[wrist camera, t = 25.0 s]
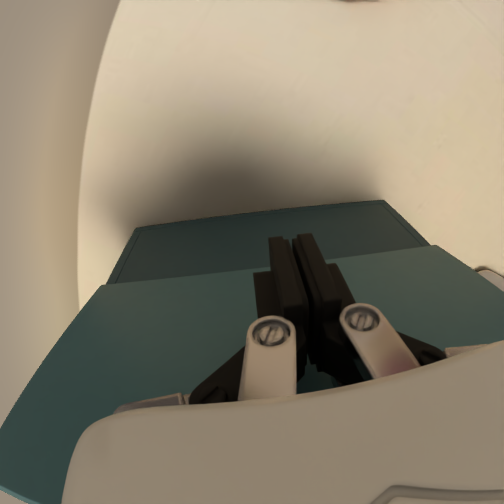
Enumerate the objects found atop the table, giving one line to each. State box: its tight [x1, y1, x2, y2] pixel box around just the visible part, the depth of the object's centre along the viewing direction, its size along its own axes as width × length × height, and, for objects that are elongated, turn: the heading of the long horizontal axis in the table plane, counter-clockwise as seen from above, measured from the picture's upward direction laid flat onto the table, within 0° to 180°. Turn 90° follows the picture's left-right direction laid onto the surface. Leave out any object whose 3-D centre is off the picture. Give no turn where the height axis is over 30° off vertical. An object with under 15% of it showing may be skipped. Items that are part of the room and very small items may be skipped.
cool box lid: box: [0, 245, 504, 504], centre depth 12 cm, size 15×24×1 cm
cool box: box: [106, 200, 431, 285], centre depth 27 cm, size 15×24×9 cm, turn 96°
